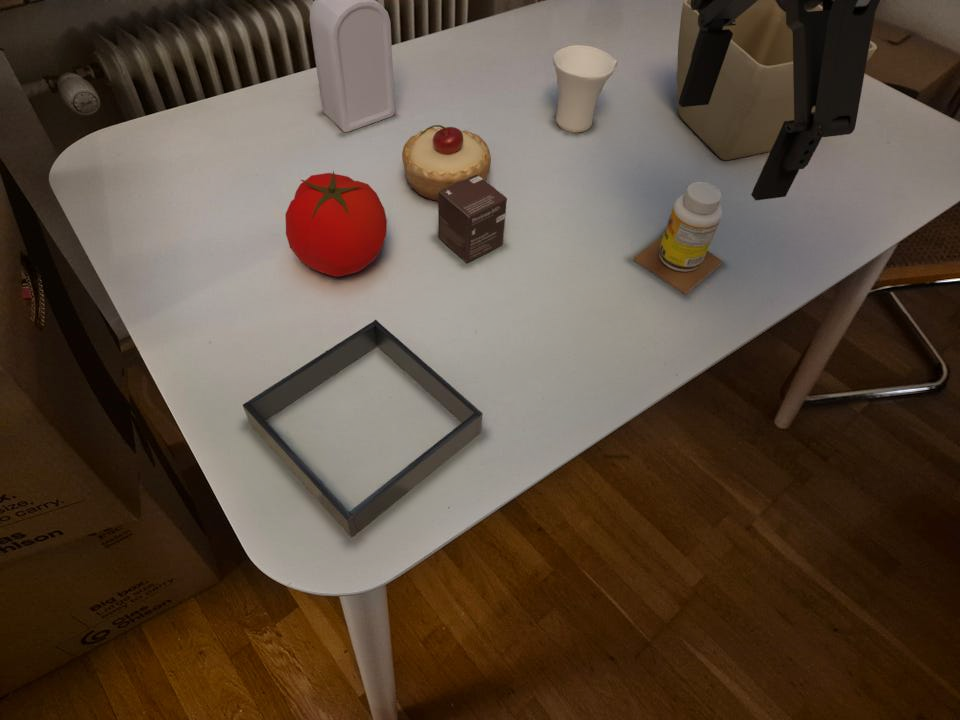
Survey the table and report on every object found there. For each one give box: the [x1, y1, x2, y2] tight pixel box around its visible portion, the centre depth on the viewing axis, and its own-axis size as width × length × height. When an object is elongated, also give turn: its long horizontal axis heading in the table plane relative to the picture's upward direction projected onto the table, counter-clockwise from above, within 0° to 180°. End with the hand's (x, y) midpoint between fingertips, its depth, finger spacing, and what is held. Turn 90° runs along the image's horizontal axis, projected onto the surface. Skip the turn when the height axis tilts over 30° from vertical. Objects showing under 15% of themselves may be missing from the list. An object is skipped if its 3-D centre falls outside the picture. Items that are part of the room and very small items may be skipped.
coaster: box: [632, 235, 724, 295], centre depth 84 cm, size 8×8×1 cm
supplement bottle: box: [659, 181, 723, 272], centre depth 79 cm, size 6×6×10 cm
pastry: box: [401, 124, 492, 201], centre depth 88 cm, size 12×12×9 cm
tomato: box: [285, 170, 388, 277], centre depth 77 cm, size 12×12×11 cm
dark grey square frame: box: [242, 319, 484, 538], centre depth 65 cm, size 16×16×4 cm
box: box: [437, 175, 508, 263], centre depth 81 cm, size 6×6×7 cm
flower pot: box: [676, 0, 878, 161], centre depth 96 cm, size 19×19×17 cm
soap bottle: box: [309, 0, 396, 133], centre depth 91 cm, size 9×7×23 cm
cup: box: [552, 44, 619, 134], centre depth 98 cm, size 9×9×10 cm
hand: (727, 146), depth 57 cm, fingers open, 13 cm apart
